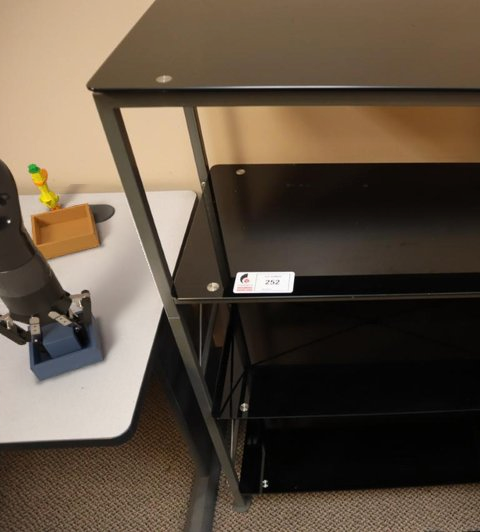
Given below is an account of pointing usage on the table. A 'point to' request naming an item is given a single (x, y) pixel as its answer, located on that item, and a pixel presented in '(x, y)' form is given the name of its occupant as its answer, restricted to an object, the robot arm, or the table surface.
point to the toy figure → (44, 187)
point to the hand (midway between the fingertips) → (66, 345)
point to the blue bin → (52, 367)
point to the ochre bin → (64, 231)
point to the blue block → (60, 340)
